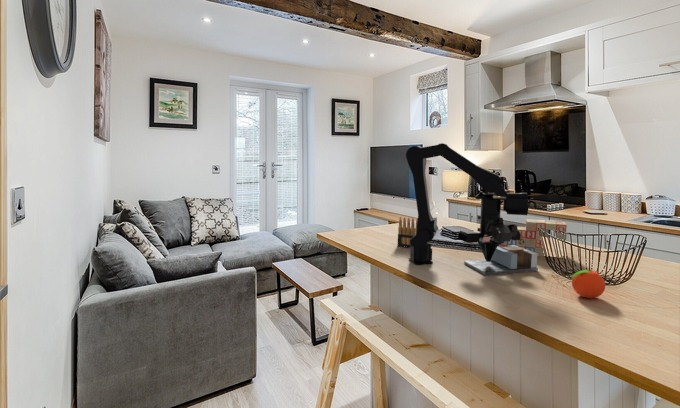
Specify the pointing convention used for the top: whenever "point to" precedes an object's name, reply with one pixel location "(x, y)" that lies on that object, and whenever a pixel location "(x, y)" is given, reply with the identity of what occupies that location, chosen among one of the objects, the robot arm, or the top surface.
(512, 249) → the walnut block
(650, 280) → the top surface
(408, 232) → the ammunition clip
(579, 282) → the clementine
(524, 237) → the stack of blocks
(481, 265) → the vise base
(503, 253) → the plate
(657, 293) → the top surface
